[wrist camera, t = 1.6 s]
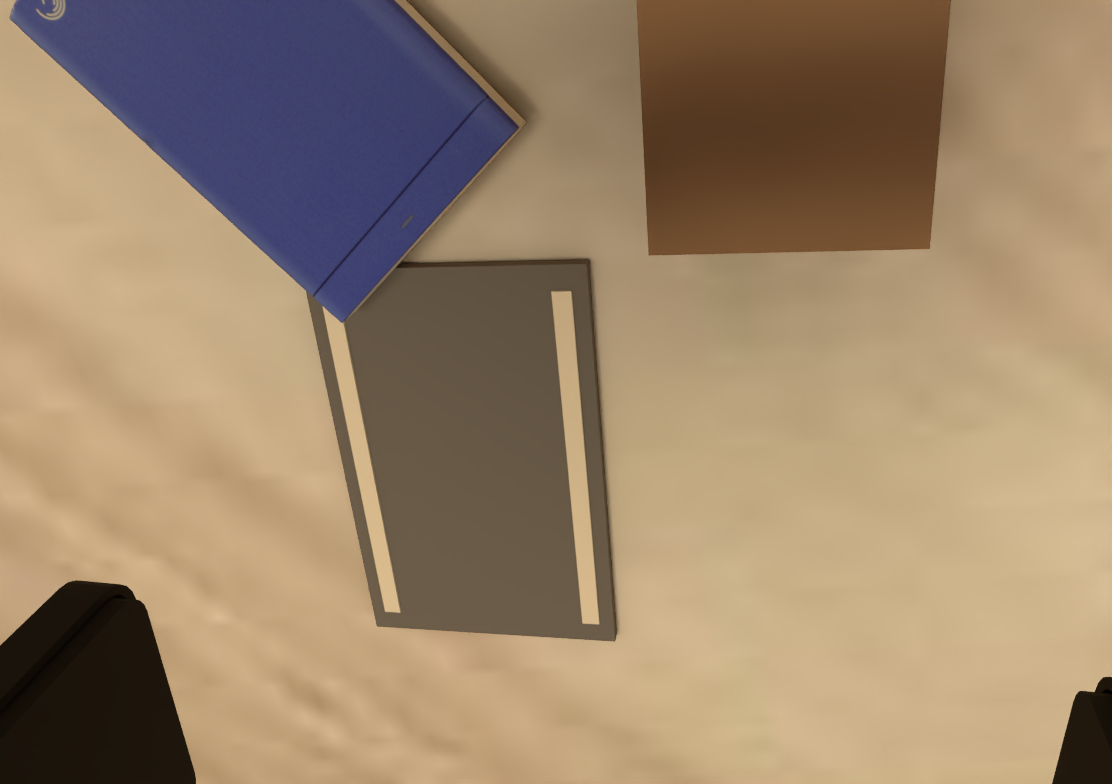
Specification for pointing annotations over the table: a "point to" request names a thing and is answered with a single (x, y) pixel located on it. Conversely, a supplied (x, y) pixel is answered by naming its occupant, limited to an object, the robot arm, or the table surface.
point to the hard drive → (293, 119)
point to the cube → (790, 123)
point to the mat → (475, 447)
